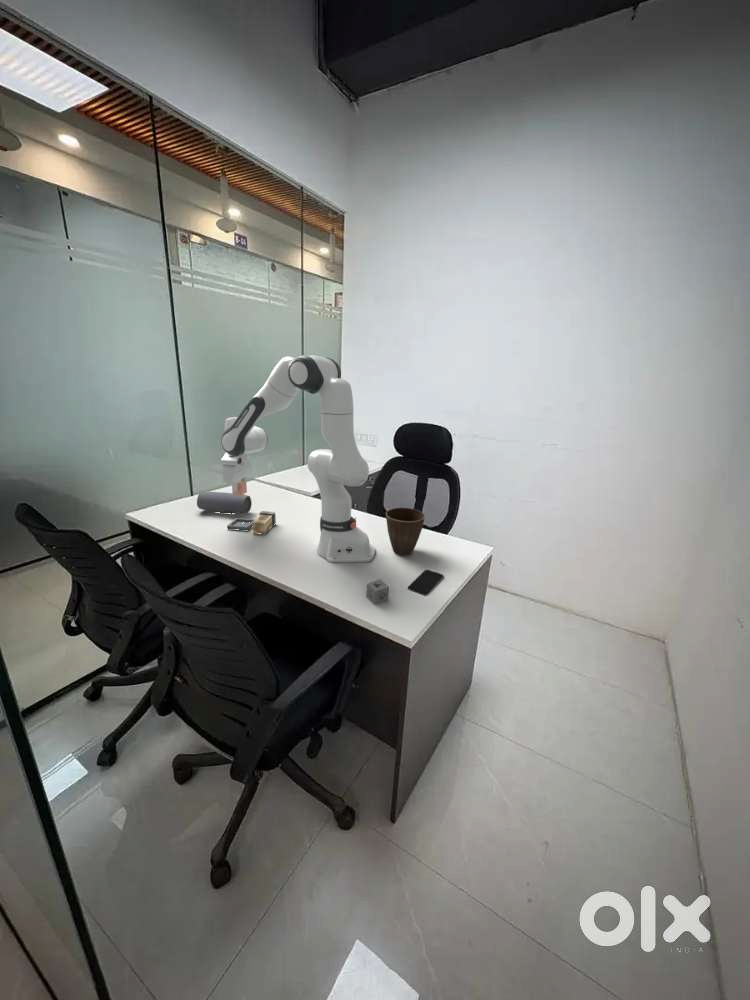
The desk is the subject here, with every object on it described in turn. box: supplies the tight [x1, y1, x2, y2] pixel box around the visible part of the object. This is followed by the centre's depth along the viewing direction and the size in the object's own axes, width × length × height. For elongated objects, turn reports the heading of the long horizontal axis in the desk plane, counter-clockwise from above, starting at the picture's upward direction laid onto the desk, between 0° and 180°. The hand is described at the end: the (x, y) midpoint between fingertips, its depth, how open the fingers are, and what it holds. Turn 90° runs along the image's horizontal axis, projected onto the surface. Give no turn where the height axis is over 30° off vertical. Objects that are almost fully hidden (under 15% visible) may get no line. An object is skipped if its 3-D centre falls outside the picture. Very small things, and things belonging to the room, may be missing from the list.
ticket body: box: [252, 510, 277, 535], centre depth 157 cm, size 6×12×6 cm, turn 176°
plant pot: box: [385, 507, 426, 557], centre depth 142 cm, size 15×15×16 cm
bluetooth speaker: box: [196, 491, 252, 514], centre depth 172 cm, size 23×9×10 cm, turn 84°
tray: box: [226, 517, 256, 531], centre depth 159 cm, size 9×9×2 cm
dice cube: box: [365, 579, 390, 606], centre depth 112 cm, size 5×5×5 cm
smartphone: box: [407, 569, 445, 597], centre depth 124 cm, size 7×1×15 cm
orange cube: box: [231, 480, 248, 496], centre depth 154 cm, size 5×4×5 cm
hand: (239, 489), depth 154 cm, fingers closed on orange cube, 5 cm apart
